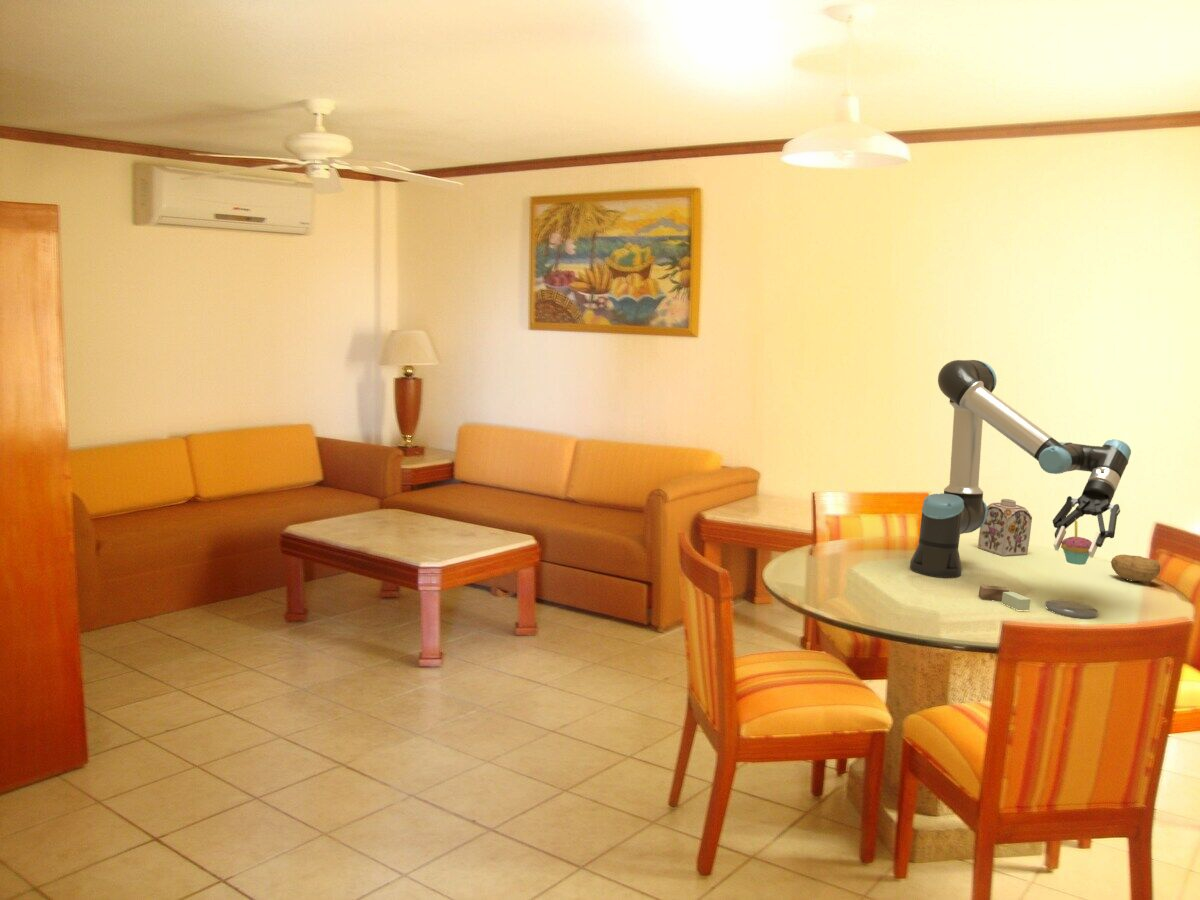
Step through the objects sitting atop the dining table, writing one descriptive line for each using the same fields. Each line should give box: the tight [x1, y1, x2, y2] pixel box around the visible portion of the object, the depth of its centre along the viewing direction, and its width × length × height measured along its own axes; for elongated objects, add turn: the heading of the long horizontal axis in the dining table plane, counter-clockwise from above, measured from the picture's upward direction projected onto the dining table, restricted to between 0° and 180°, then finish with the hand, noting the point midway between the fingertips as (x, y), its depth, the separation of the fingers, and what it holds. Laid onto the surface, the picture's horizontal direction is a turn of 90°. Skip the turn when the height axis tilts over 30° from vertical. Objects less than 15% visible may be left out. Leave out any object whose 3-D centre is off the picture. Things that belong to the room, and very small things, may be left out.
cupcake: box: [1060, 518, 1093, 566], centre depth 278 cm, size 9×8×12 cm
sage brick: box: [1000, 591, 1032, 611], centre depth 280 cm, size 7×4×4 cm, turn 17°
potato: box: [1110, 554, 1162, 583], centre depth 318 cm, size 10×14×8 cm
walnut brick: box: [978, 584, 1010, 602], centre depth 287 cm, size 7×4×4 cm, turn 84°
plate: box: [1044, 599, 1099, 620], centre depth 280 cm, size 13×13×1 cm
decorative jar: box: [977, 498, 1033, 557], centre depth 347 cm, size 12×12×18 cm
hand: (1073, 550), depth 276 cm, fingers closed on cupcake, 8 cm apart
